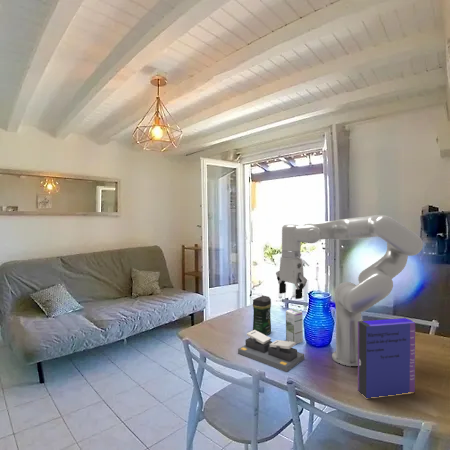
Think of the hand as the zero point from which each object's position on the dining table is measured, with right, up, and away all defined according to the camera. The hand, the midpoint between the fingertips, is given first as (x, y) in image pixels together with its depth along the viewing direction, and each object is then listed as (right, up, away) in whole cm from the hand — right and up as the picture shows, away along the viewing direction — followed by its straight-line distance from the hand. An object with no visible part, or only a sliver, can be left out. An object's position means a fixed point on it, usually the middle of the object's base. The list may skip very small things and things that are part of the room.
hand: (290, 295), depth 128 cm
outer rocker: (-12, -19, +6) cm, 24 cm away
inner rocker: (-4, -20, -2) cm, 20 cm away
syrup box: (+6, -26, +17) cm, 31 cm away
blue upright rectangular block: (+27, -27, -25) cm, 45 cm away
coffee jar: (-8, -25, +27) cm, 38 cm away
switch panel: (-8, -26, +3) cm, 27 cm away
